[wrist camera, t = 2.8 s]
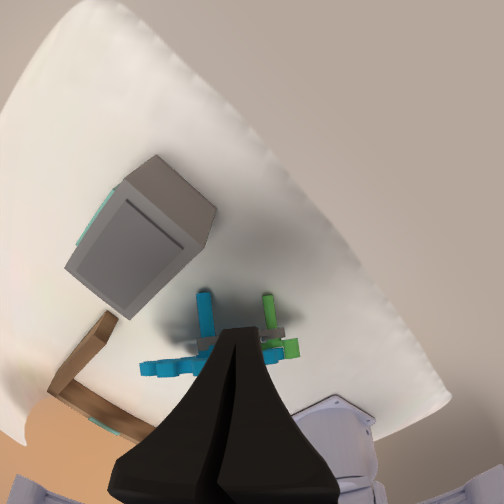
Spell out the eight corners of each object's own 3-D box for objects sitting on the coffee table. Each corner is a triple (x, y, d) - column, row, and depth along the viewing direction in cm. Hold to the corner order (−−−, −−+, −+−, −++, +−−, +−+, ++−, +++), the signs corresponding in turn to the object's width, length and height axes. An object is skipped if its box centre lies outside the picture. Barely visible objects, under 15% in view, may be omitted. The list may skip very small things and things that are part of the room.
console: (216, 208, 19) (203, 250, 14) (151, 274, 22) (128, 323, 17) (153, 152, 17) (118, 176, 13) (95, 227, 20) (58, 267, 15)
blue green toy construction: (162, 374, 25) (120, 390, 15) (154, 308, 26) (110, 289, 17) (289, 360, 26) (316, 371, 16) (279, 293, 27) (300, 266, 18)
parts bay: (241, 397, 29) (239, 424, 26) (160, 434, 34) (155, 454, 31) (107, 310, 23) (92, 336, 21) (56, 372, 29) (46, 392, 26)
